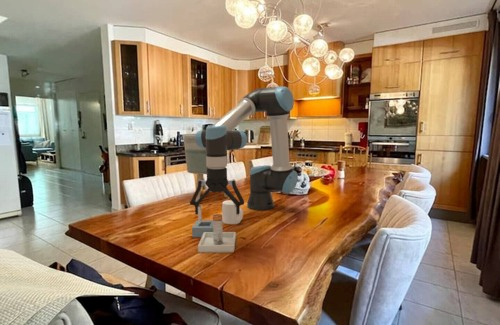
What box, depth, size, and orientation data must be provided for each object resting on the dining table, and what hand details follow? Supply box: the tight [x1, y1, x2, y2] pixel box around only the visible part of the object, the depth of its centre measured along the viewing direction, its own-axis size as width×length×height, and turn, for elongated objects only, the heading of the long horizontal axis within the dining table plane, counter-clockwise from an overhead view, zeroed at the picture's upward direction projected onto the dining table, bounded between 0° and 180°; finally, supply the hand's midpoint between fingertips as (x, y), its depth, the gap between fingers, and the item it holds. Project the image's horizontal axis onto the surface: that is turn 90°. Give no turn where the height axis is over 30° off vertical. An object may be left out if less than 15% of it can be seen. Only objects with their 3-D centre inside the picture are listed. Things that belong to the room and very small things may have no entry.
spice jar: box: [212, 213, 224, 245], centre depth 105 cm, size 4×4×11 cm
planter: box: [183, 133, 229, 202], centre depth 170 cm, size 26×26×40 cm
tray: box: [197, 231, 237, 253], centre depth 106 cm, size 13×13×2 cm
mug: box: [221, 199, 244, 225], centre depth 131 cm, size 12×9×8 cm
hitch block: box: [191, 219, 213, 238], centre depth 117 cm, size 9×9×4 cm
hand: (217, 222), depth 105 cm, fingers open, 13 cm apart
